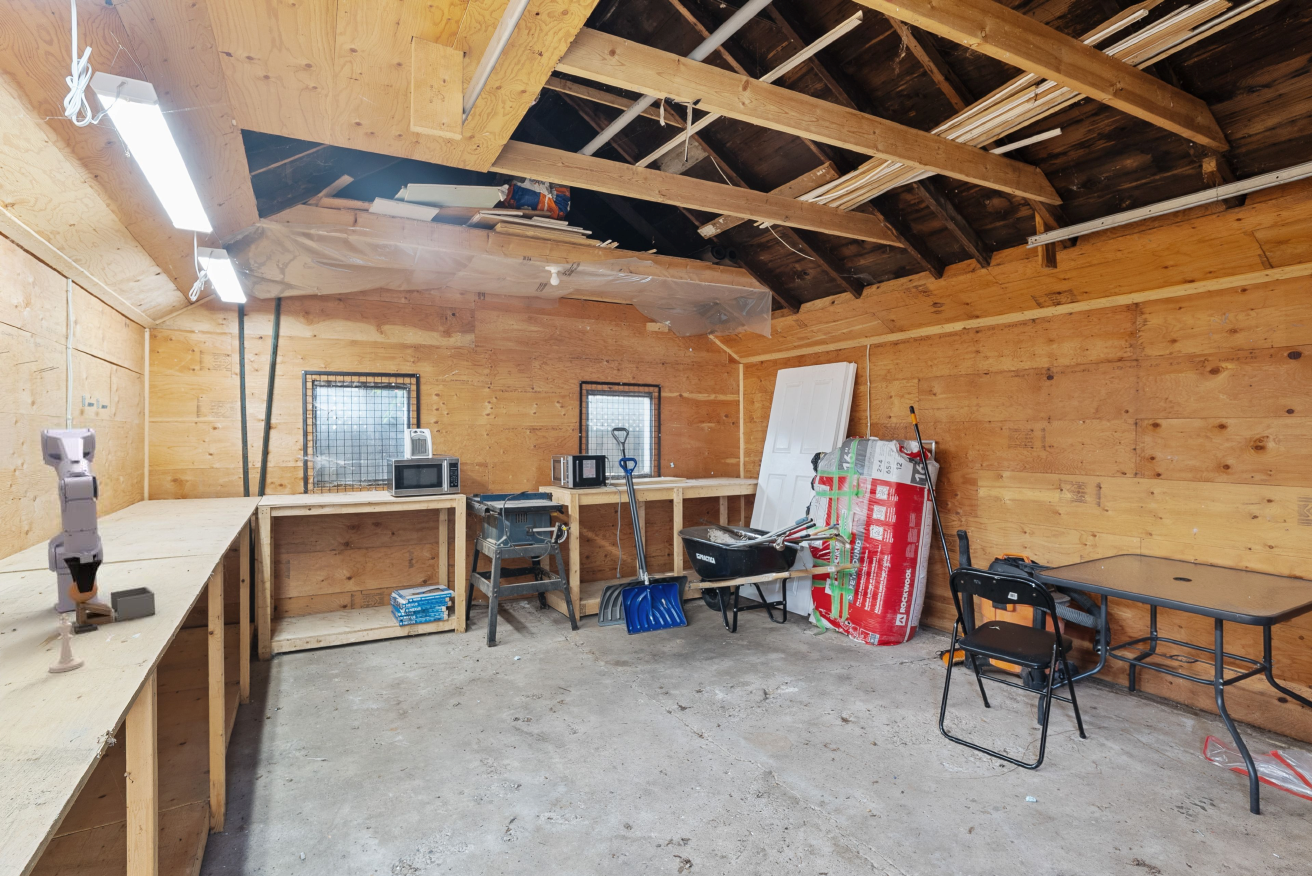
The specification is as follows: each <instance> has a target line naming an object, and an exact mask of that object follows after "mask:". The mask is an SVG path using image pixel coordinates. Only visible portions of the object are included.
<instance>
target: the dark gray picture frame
mask: <svg viewBox="0 0 1312 876" xmlns="http://www.w3.org/2000/svg"><path fill="white" fill-rule="evenodd" d="M98 630H99V625H97V624H96V623H91V624H85V625H80V626H79V625H75V626H73V631H74V633H75V634H76V635H79V634H82V633H89V632H92V631H98Z"/></svg>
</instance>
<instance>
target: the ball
mask: <svg viewBox="0 0 1312 876" xmlns="http://www.w3.org/2000/svg"><path fill="white" fill-rule="evenodd" d="M98 591H99V587H98V584H97V585H96V583H95V582H94V586H93V590H92V591H91V592H85V593H80V592H79V590H78V588H77V584H76V582H74V583H73V584H72V585H71V586H70V588H69V590H68V595H69V597H70V598H71V599H72V600H74V601H76V602H85V601H88V600H90V599H92V598H93V597H94V596H95V595H96V594H97V595H98Z"/></svg>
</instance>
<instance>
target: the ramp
mask: <svg viewBox="0 0 1312 876" xmlns="http://www.w3.org/2000/svg"><path fill="white" fill-rule="evenodd" d="M74 611H75V620H76V623H77V625H78V626H80V625H85V624H91V623H96V624H97V626H99V625H104V624H109V623H110V624H111V623H115V622H116V621H115V615H114V610H113V609H112V608H111V604H109V603H103V602H102V603H98V602H93V601H85V602H75V610H74Z"/></svg>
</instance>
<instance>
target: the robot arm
mask: <svg viewBox="0 0 1312 876" xmlns="http://www.w3.org/2000/svg"><path fill="white" fill-rule="evenodd" d="M96 443H97V442H96V433H95V429H93V428H92V427H88V428H57V429H55V428H51V429H48V428H43V429H42V430H41V431H40V444H41V447H40V448H41V453H42V461H44V464H45V465H47V466H50V467H52V468H54V470H55V473H56V474H57V477H58V483H57V485H58V486H57V488H58V500H59V502H60V503H59V504H60V516H61V527H62V531H61V532H59V533H58V534H56V535H55V536H53V537H52V538H50V540H49V542H48V544H47V546H48V548H47V554H48V555H47V557H48V569H49V571H51V572H52V573H55V574H56V579H57V580H56V581H57V582H56V583H57V600H58V601H57V602H54V603H53V606H54V607H55V609H56V610H57V613H64V612H69V611H76V610H75V602H76V601H74V600H72V599H71V598H70V597H69V595H68V590H69V588H70V586H71V585H72V584H73V583H74V582H76V584H77V588H78V590H79V592H80V593H85V592H91V591H92V590H93V586H94V582H95V583H96V585H97V586H98V581H97V579H98V578H97V572H98V569H99V568H100V566H101V565H102V564H103V563H104V550H103V549H104V548H103V543H102V539H101V536H100V534H99V532H98V531H99V529H98V515H97V514H98V512H97V510H98V509H97V501H98V499H99V496H100V495H99V491H100V490H99V480H98V478H97V476H96V475H95V473H93V470H92V466H91V465H92V464H91V463H93V460H94V458H95V450H96V445H97V444H96ZM94 499H95V500H94ZM88 601H93V602H98V603H103V602H102V601H101V600H100V599H99V598H98V593H97V594H96V595H95V596H94V597H93V598H92V599H90V600H88Z"/></svg>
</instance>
